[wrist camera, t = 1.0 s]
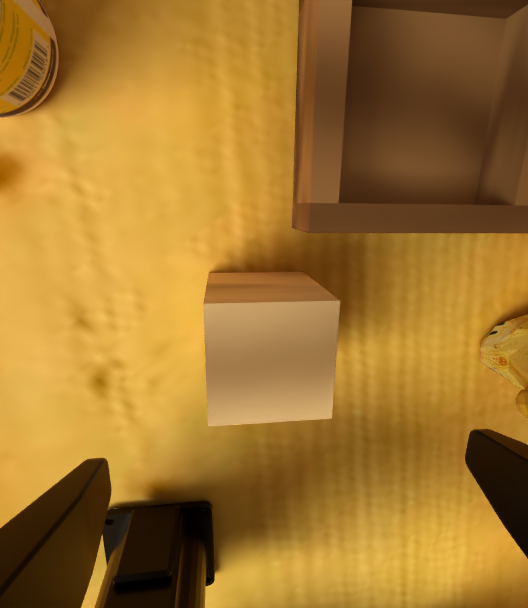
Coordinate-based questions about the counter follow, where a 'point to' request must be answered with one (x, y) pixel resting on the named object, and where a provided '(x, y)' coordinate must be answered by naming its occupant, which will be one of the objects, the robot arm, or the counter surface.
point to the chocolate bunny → (509, 355)
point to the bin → (411, 117)
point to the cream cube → (269, 348)
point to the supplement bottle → (25, 56)
